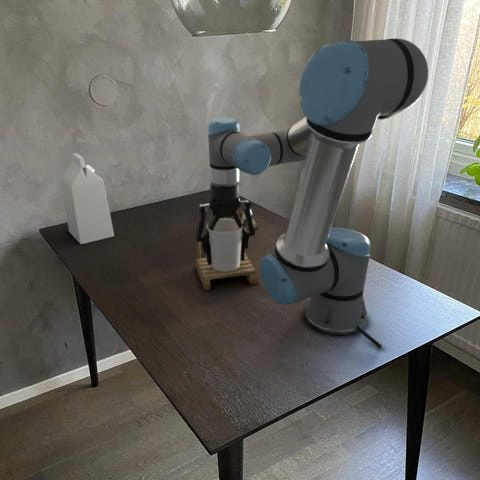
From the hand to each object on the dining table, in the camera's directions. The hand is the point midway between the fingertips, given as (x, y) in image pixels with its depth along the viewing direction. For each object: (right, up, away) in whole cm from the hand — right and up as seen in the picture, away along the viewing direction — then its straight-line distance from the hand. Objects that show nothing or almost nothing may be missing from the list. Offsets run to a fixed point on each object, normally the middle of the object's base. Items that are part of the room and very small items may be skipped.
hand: (225, 260), depth 143 cm
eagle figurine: (+6, +16, +34) cm, 38 cm away
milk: (-46, +12, +28) cm, 55 cm away
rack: (0, -4, +4) cm, 6 cm away
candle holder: (0, -1, +1) cm, 2 cm away
